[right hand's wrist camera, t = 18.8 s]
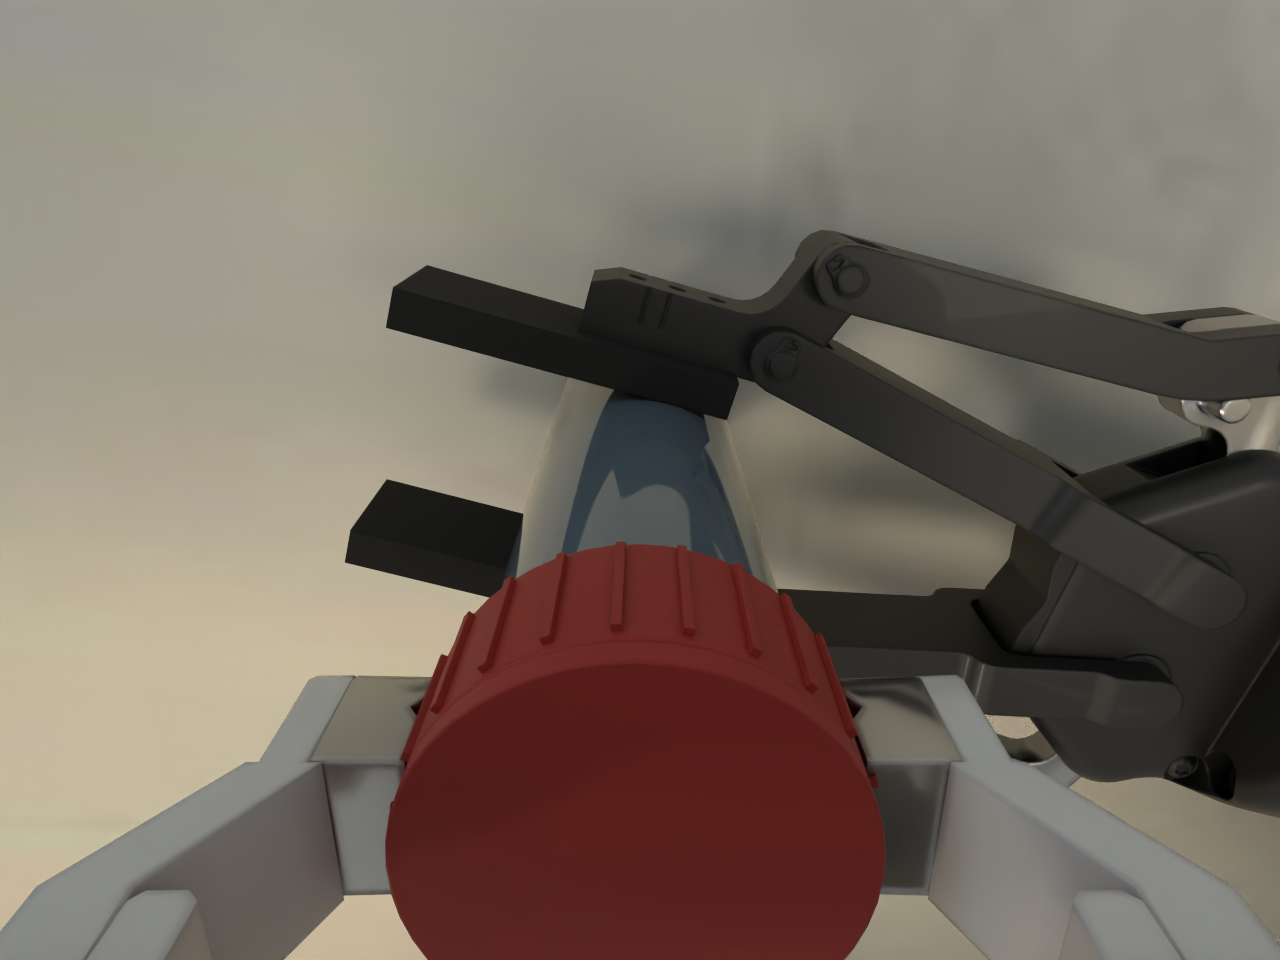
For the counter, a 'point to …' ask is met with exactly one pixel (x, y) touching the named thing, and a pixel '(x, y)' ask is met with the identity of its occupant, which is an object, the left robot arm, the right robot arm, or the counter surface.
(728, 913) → the lid
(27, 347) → the counter surface
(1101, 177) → the counter surface
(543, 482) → the bottle
